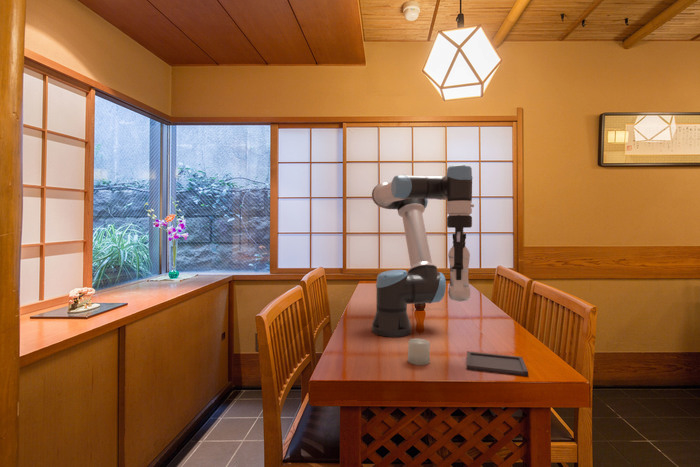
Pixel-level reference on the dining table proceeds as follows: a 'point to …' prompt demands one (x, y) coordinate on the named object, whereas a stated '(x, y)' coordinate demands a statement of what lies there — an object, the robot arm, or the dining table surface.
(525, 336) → the dining table surface
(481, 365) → the tray
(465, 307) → the dining table surface
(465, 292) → the plastic bottle
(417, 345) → the white rounded cylinder
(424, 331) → the dining table surface
